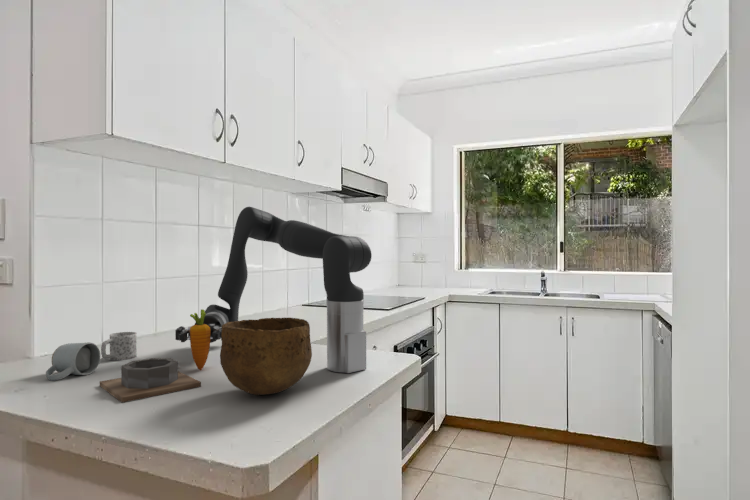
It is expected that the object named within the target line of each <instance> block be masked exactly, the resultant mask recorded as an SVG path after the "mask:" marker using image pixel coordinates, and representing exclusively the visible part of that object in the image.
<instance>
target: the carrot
mask: <svg viewBox="0 0 750 500" xmlns="http://www.w3.org/2000/svg"><path fill="white" fill-rule="evenodd" d="M205 310H206V309H205ZM205 310H204V309H203V308H202V309H200V317H199V315H198V312H194V314H192V313H191V314H190V315H189V316H190V317H191V318H192V319H193V320H194V322H195V323H197V324H196V325H195V324H192V325H191V326H189V327H190V340H189V343H190V344H189V345H190V350H191V351H190V352H191V355H192V359H193V362H194V364H195V366H196V367H197V369H198V370H199V371H202V370H203V368H204V367H205V364H206V363H207V361H208V358H209V353H210V347H211V343H210V331H211V330H210V327H209V326H208V325H206V324H203V321H204V317H205V315H206V313H205ZM199 318H200V320H199Z"/></svg>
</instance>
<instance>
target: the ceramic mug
mask: <svg viewBox="0 0 750 500" xmlns="http://www.w3.org/2000/svg"><path fill="white" fill-rule="evenodd" d="M100 363H101V349H100V348H99V347H98V345H96V344H95V343H93V342H73V343H72V342H71V343H64V344H62V345H59V346H58V347H57V348H56V349H55V350H54V351H53V353H52V356H51V365H52V366H50V367H48V369H47V370H46V371H45V376H46V378H47V379H48V380H49V381H58V380H61V379H64V378H66V377H68V376H69V375H74V376H75V375H76V376H88V375H92V374H93V373H94V372H95V371H96V370H97V368H98V367H99V365H100ZM54 372H58V373H55V374H54Z"/></svg>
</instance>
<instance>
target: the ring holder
mask: <svg viewBox="0 0 750 500" xmlns="http://www.w3.org/2000/svg"><path fill="white" fill-rule="evenodd" d="M178 365H179V361H178V360H175V359H174V358H171V357H166V358H165V357H151V358H144V359H138V360H137V359H136V360H131V361H129V362H127V363H125V364H122V365H121V367H120V370H121V371H120V372H121V373H120V374H121V375H120V376H121V377H118V378H111V379H106V380H100V381H99V387H101V389H102V390H105V391H106V392H107V393H109V394H110V395H111V396H113V397H114V398H115V399H116V400H118V401H119V402H121V403H127V402H132V401H136V400H142V399H146V398H152V397H156V396H160V395H166V394H169V393H175V392H180V391H186V390H190V389H195V388H199V387H202V381H200V380H197V379H196V378H194V377H191V376H189V375H187V374H185V373H183V372H181V371H179V368H178V367H179V366H178Z"/></svg>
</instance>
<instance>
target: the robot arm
mask: <svg viewBox="0 0 750 500" xmlns="http://www.w3.org/2000/svg"><path fill="white" fill-rule="evenodd" d="M249 238H250V239H254V240H256V241H261V242H268V243H275V244H278V245H279V247H280V248H281V249H283V250H284V251H287V253H288V252H289V253H291V254H294V255H296V256H299V257H305V258H311V259H312V258H313V259H322V270H323V273H322V274H323V287H324V291H325V294H326V369H327V370H328V371H330V372H334V373H346V374H350V373H355V372H359V371H364V370H367V331H366V330H364V290H363V288H362V287H360V286H359V285H356V284H354V283H353V281H352V280H351V273H357V272H361V271H363V270H365V269H366V268H367V267H368V266H369V265H370V263H371V261H372V249H371V247H370V246H369V244H368V242H366V241H365V240H364V239H363V238H361V237H359V236H352V235H343V234H338V233H333V232H331V231H329V230H326V229H324V228H320V227H318V226H315V225H314V224H313V225H312V224H309V223H306V222H303V221H299V220H295V219H293V220H292V219H291V220H284V219H282V218H280V217H278V216H275V215H274V214H272V213H270V212H267V211H265V210H262V209H259V208H255V207H253V206H246V207H244V208H243V209H242V210H241V211H240V212H239V215H238V216H237V219H236V223H235V226H234V230H233V237H232V240H231V245H230V251H229V256H228V257H229V258H228V260H227V266H226V268H225V269H226V270H225V272H224V275H223V277H222V280H221V283H220V286H219V289H218V291H217V297H218V299H221V300H222V301H223V302H225V303H226V304H228V306H229V308H227V307H224V306H221V305H218V304H210V305H208V306H207V308H206V309H205V313H206V315H205V317H204V321H203V324H206V325H208V326H209V327H210V330H211V331H210V344H212V343H214V342H217V341H219V340H221V333H222V325H223V324H225V323H227V322H234V321H239V313H240V312H239V310H240V304H241V303H240V302H241V297H242V296H243V293H244V290H245V287H246V284H247V281H248V276H249V275H248V266H247V260H246V246H247V242H248V240H249ZM199 320H200V317H199ZM196 324H197V323H196V322H194V325H196ZM190 327H191V326H188V328H187V329H186V327H185V326H183V325H182V326H179V327H177V328H176V329H175V334H174V335H175V336H174V337H175V339H174V340H176V341H180V343H185V342H187V341H190Z"/></svg>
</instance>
